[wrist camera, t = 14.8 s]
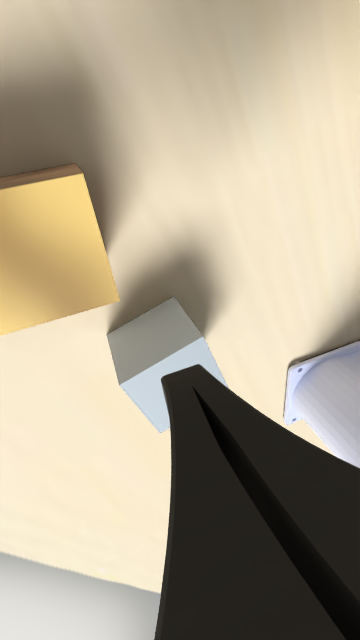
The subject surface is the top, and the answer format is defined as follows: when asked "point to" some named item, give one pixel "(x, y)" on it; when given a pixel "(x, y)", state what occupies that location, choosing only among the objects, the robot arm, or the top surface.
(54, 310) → the walnut cube
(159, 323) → the slate-grey cube
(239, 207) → the top surface
